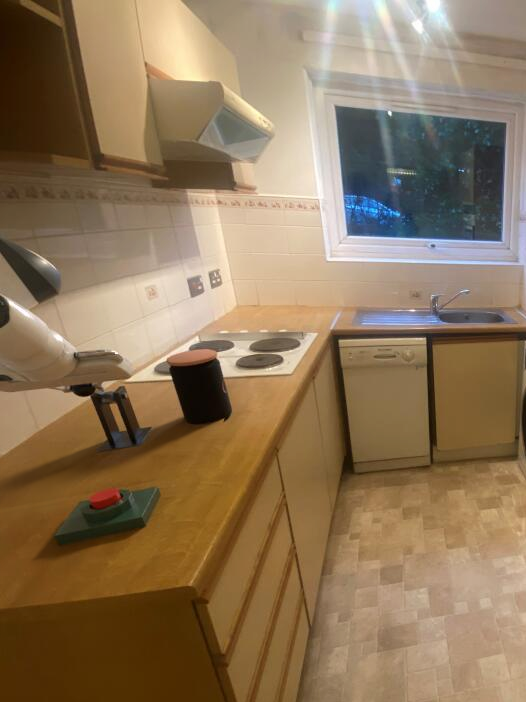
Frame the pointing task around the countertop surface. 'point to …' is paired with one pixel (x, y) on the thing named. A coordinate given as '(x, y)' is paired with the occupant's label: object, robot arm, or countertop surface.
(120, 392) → the bracket
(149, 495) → the button box
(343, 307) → the countertop surface
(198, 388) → the coffee jar
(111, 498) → the button
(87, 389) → the lever
